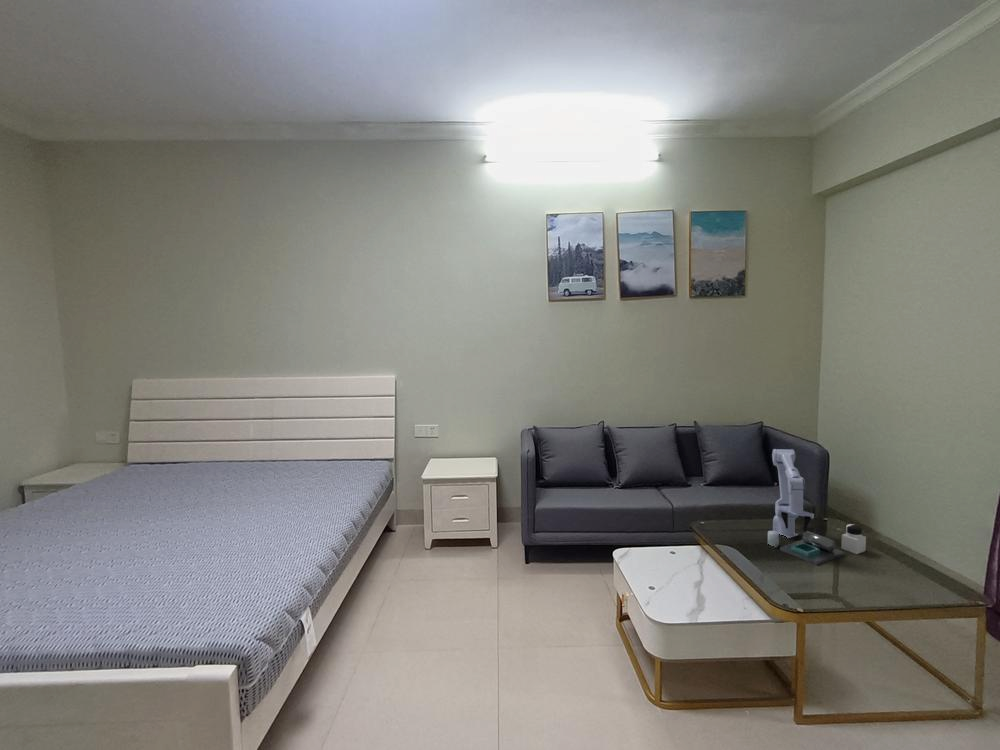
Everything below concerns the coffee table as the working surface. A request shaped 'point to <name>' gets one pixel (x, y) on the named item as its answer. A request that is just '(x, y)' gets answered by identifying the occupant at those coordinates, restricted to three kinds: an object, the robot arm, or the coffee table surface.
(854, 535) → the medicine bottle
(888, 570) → the coffee table surface
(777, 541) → the white rounded cylinder
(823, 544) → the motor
